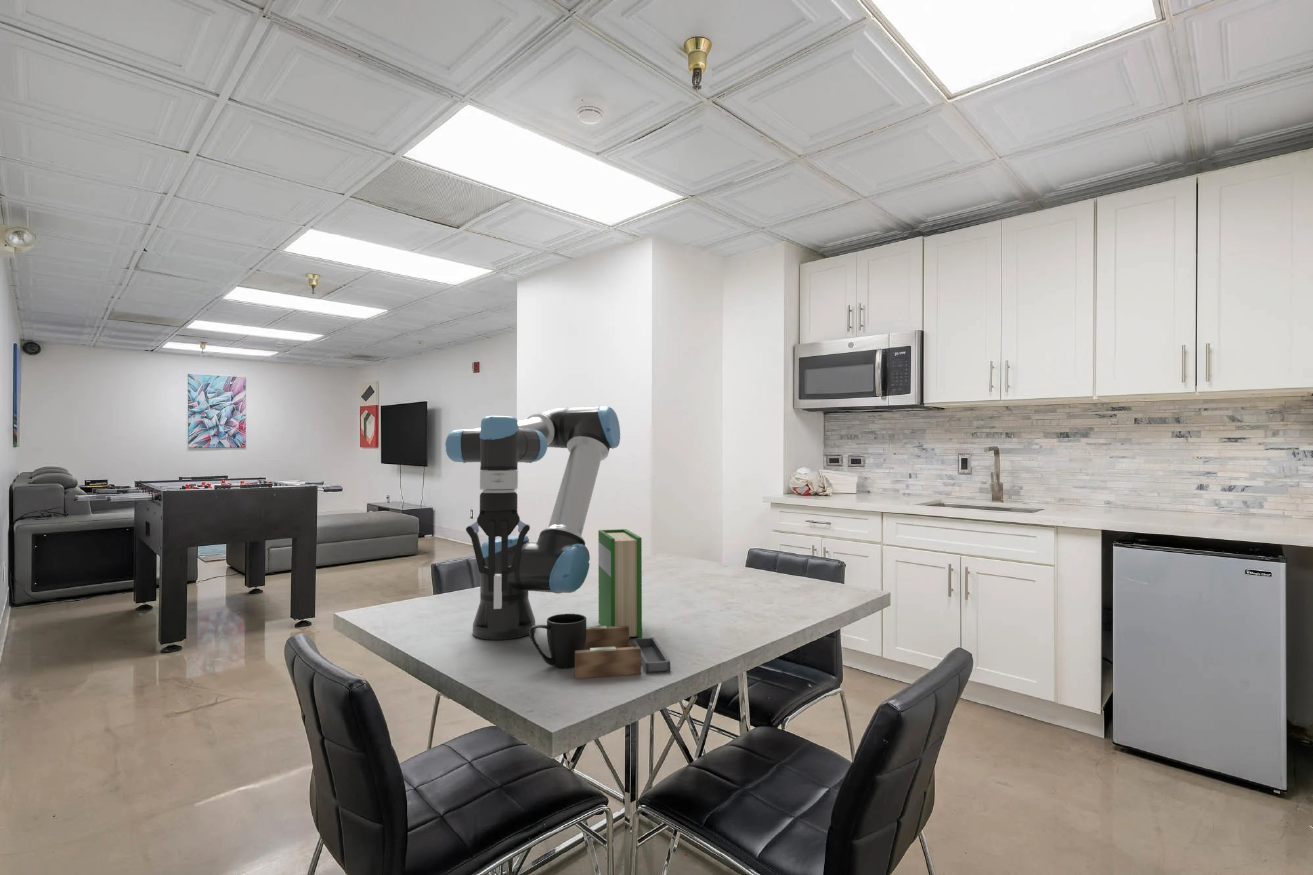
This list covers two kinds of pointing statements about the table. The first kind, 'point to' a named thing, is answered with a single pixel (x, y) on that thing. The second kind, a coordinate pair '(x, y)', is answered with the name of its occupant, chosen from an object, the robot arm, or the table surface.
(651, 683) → the table surface
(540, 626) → the mug
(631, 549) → the hardback book
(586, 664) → the lane walls
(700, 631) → the table surface
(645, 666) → the tray
